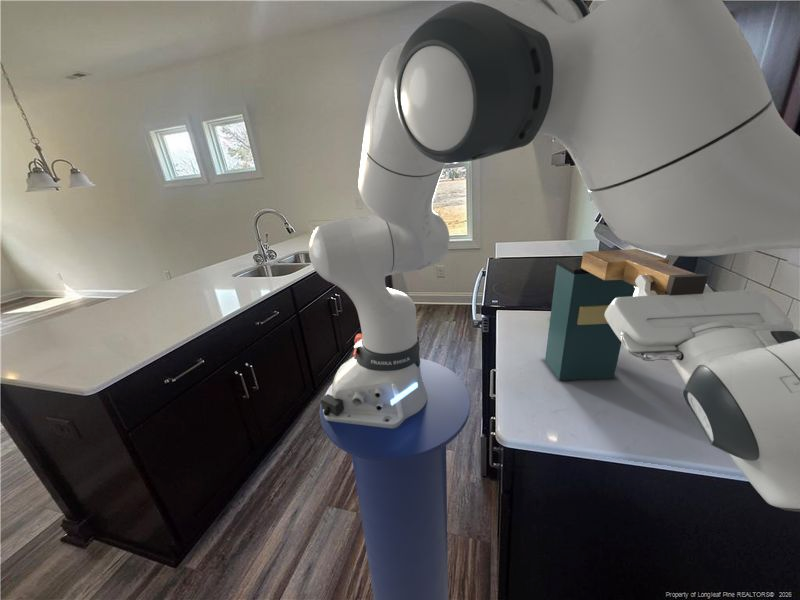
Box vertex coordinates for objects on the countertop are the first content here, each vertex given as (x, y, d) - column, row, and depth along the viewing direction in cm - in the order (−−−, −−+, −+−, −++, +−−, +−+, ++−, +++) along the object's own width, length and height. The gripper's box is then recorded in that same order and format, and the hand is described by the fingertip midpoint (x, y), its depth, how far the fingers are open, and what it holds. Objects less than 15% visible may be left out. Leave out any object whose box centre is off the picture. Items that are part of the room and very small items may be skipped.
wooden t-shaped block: (646, 305, 44) (653, 278, 43) (580, 269, 62) (583, 249, 60) (721, 302, 44) (730, 274, 43) (633, 266, 61) (637, 246, 60)
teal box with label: (558, 381, 71) (574, 269, 61) (543, 360, 79) (555, 258, 69) (616, 379, 70) (642, 266, 61) (594, 358, 78) (614, 255, 69)
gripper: (620, 372, 43) (582, 293, 51) (780, 365, 42) (714, 285, 50) (646, 349, 38) (599, 265, 46) (827, 340, 37) (745, 257, 45)
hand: (660, 276), depth 48 cm, fingers closed on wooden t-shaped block, 4 cm apart
